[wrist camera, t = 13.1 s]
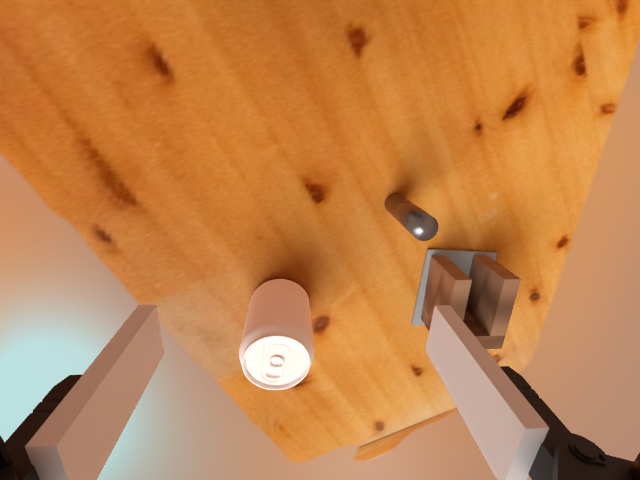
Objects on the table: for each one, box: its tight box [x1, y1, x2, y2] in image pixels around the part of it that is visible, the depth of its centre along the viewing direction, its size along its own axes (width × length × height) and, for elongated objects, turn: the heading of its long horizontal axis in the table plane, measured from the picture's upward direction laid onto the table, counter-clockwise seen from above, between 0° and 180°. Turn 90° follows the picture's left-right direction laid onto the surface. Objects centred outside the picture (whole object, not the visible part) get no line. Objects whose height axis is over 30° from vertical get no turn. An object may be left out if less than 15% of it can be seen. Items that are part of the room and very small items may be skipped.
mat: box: [411, 249, 498, 325], centre depth 46 cm, size 12×10×1 cm
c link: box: [421, 255, 521, 349], centre depth 42 cm, size 10×8×7 cm
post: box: [385, 193, 438, 241], centre depth 36 cm, size 3×3×10 cm
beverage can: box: [239, 279, 314, 390], centre depth 39 cm, size 8×8×12 cm
